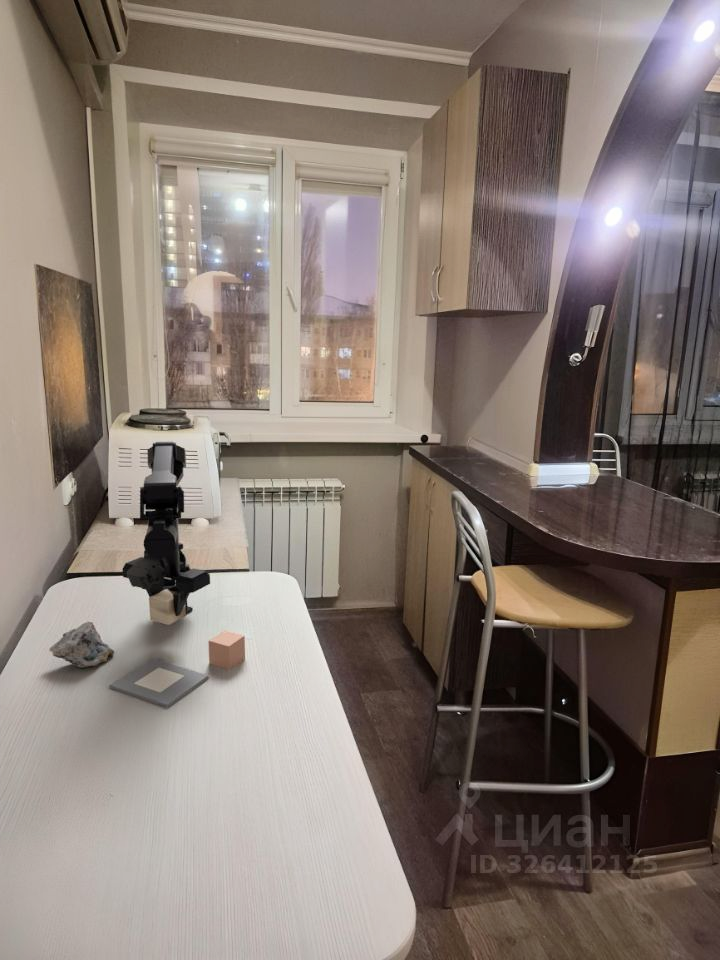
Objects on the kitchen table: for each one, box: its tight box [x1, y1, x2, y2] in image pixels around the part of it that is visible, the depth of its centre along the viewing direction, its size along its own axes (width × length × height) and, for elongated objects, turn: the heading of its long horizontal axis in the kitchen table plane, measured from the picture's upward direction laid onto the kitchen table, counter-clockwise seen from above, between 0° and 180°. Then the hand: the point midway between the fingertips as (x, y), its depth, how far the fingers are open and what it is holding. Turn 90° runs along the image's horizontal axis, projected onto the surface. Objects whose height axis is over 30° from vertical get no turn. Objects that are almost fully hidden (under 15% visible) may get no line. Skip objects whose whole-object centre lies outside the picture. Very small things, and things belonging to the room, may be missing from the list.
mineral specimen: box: [49, 621, 115, 669], centre depth 125 cm, size 10×8×10 cm
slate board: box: [108, 657, 209, 709], centre depth 118 cm, size 11×14×1 cm
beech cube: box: [148, 589, 187, 626], centre depth 131 cm, size 5×5×5 cm
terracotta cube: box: [207, 630, 246, 670], centre depth 126 cm, size 5×5×5 cm
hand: (168, 612), depth 131 cm, fingers closed on beech cube, 5 cm apart
